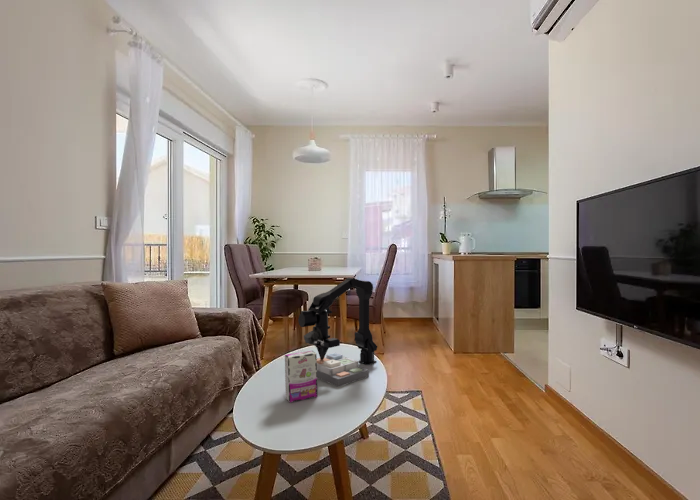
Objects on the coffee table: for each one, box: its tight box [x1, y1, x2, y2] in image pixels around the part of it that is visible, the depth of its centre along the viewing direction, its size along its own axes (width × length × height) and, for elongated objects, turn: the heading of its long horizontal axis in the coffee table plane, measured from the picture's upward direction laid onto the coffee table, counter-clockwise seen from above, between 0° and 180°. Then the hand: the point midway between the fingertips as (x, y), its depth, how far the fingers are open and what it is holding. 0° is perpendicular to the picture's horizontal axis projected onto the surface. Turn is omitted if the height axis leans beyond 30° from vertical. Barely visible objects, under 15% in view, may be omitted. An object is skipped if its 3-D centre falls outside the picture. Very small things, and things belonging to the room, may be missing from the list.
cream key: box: [324, 359, 341, 368], centre depth 158 cm, size 5×5×2 cm
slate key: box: [326, 352, 344, 360], centre depth 168 cm, size 5×5×2 cm
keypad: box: [317, 356, 370, 387], centre depth 161 cm, size 17×22×6 cm
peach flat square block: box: [317, 357, 330, 364], centre depth 163 cm, size 5×5×2 cm
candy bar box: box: [284, 350, 318, 403], centre depth 137 cm, size 11×5×16 cm, turn 117°
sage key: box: [339, 359, 353, 364], centre depth 163 cm, size 5×5×2 cm
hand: (322, 359), depth 163 cm, fingers closed, pressing on peach flat square block
